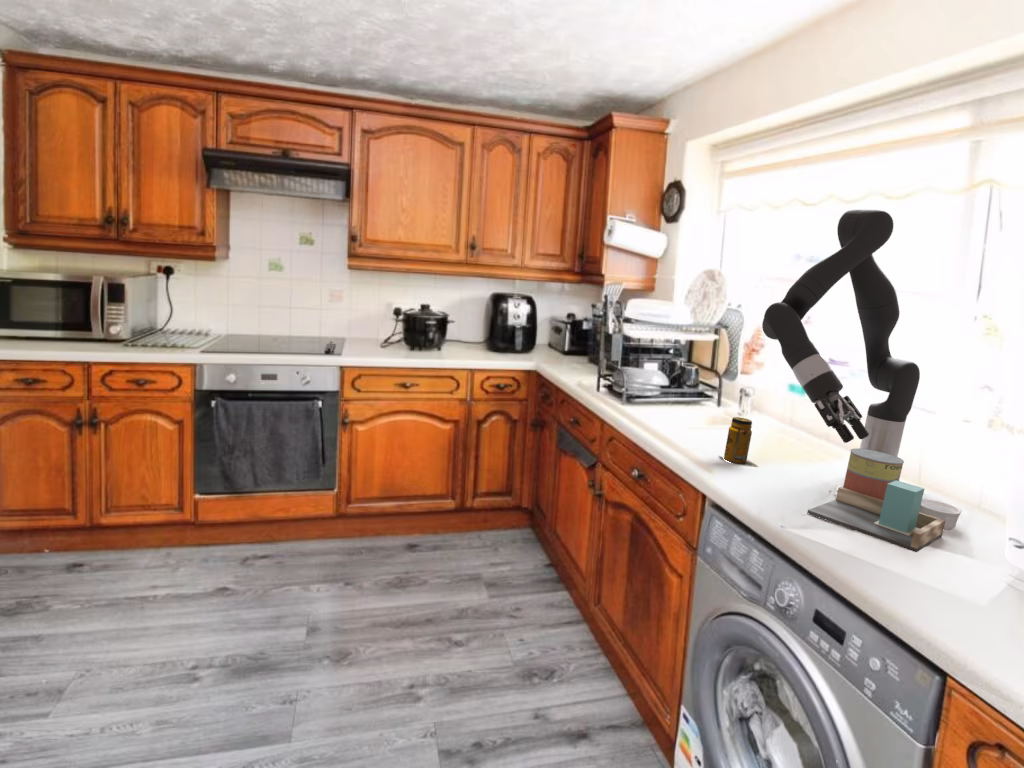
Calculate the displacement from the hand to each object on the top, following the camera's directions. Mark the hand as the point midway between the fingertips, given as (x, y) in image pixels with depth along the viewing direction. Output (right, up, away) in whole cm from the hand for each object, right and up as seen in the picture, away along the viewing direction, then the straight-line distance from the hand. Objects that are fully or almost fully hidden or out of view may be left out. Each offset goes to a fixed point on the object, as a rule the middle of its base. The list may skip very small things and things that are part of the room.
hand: (857, 439), depth 149 cm
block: (+5, -18, -6) cm, 20 cm away
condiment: (-15, -9, +36) cm, 40 cm away
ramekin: (+19, -20, +3) cm, 27 cm away
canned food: (+8, -17, +12) cm, 22 cm away
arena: (+1, -18, -4) cm, 19 cm away
